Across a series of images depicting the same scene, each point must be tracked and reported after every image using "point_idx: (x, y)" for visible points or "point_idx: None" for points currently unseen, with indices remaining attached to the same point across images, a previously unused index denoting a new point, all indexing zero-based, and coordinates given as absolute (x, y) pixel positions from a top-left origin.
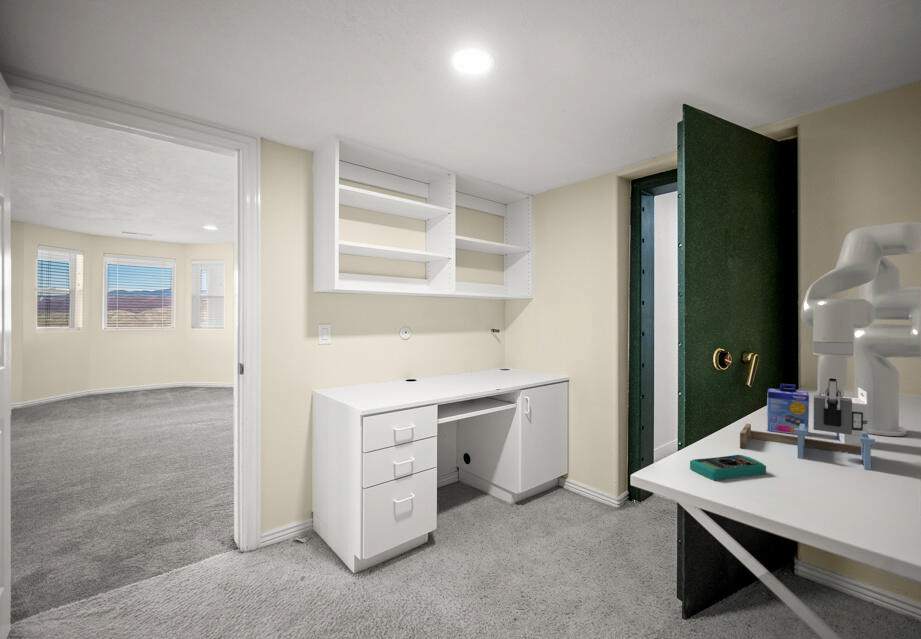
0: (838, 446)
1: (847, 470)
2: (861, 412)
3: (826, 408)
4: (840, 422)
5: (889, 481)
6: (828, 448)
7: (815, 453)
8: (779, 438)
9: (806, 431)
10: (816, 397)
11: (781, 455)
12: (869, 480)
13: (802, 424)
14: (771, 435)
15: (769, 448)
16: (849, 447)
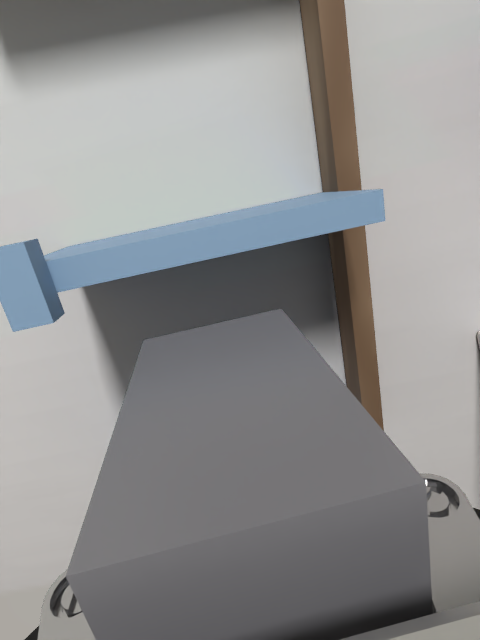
0: (351, 351)
1: (66, 429)
2: None
3: (68, 582)
4: None
5: (58, 535)
6: (340, 310)
7: (230, 282)
8: (317, 78)
9: (14, 330)
10: (123, 594)
11: (40, 173)
12: (4, 500)
13: (357, 211)
14: (316, 21)
15: (128, 78)
16: (356, 389)
